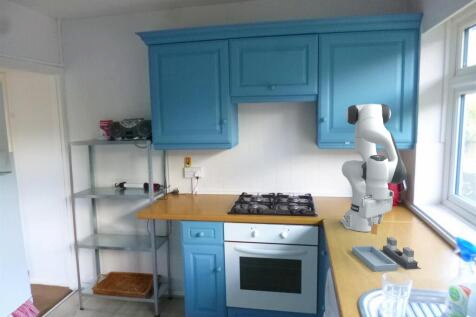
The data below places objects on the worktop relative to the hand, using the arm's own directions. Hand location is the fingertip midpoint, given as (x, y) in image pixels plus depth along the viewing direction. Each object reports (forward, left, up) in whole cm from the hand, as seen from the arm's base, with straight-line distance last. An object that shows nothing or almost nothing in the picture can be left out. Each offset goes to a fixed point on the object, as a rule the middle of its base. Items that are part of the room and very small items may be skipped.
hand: (374, 224), depth 140 cm
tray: (0, 0, -17) cm, 17 cm away
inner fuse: (-6, +12, -16) cm, 21 cm away
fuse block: (0, +12, -17) cm, 21 cm away
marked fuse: (0, 0, -4) cm, 4 cm away
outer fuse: (+6, +12, -16) cm, 21 cm away
